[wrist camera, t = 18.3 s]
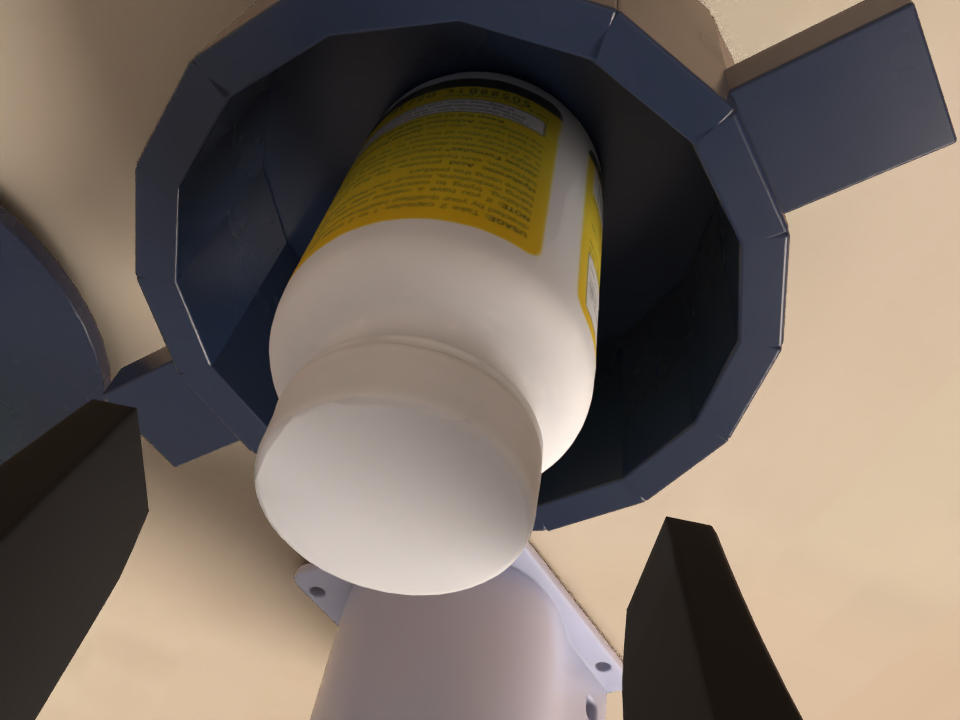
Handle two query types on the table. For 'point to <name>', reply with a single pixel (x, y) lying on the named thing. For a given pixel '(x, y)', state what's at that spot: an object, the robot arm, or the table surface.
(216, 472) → the table surface
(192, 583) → the table surface
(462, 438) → the supplement bottle
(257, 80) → the pot
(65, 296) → the pot lid
